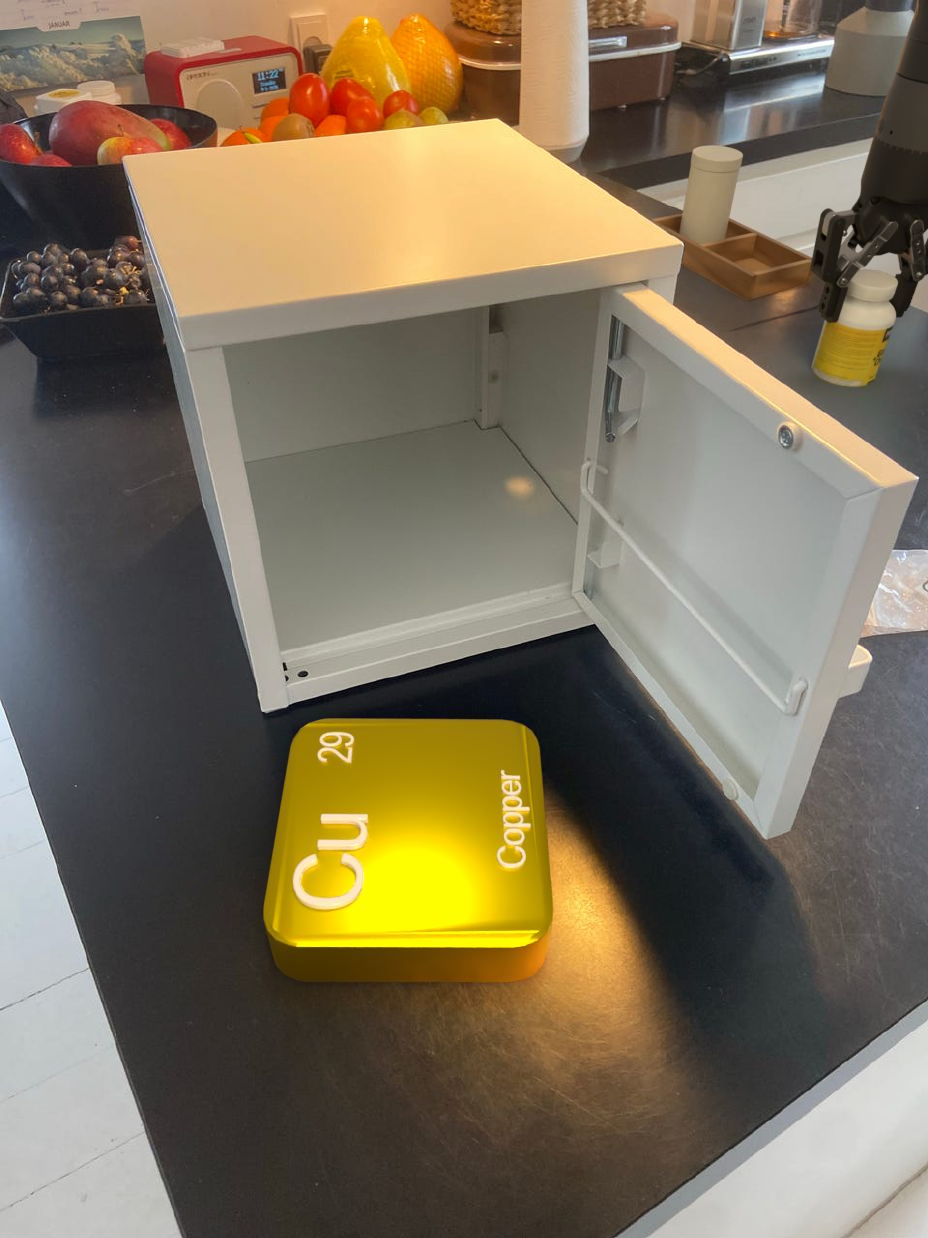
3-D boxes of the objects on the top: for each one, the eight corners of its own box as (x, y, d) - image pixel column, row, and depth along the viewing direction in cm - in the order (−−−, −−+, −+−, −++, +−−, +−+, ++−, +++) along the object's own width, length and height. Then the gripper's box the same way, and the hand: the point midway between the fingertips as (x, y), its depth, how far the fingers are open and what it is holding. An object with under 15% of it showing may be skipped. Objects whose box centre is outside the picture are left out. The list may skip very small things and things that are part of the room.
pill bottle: (860, 408, 93) (898, 298, 85) (797, 390, 96) (830, 281, 88) (877, 382, 97) (915, 274, 89) (817, 365, 100) (849, 259, 92)
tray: (703, 233, 128) (708, 207, 125) (809, 287, 115) (817, 259, 113) (642, 246, 124) (646, 219, 122) (745, 304, 111) (752, 275, 109)
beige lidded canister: (702, 237, 125) (720, 142, 117) (732, 253, 121) (753, 156, 113) (666, 245, 123) (682, 149, 115) (696, 261, 119) (715, 163, 111)
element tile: (550, 985, 48) (558, 941, 45) (266, 985, 48) (254, 940, 45) (533, 760, 59) (538, 712, 56) (301, 759, 59) (293, 710, 56)
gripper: (868, 151, 76) (812, 339, 87) (1020, 143, 78) (947, 328, 90) (824, 125, 81) (777, 306, 93) (968, 119, 84) (904, 296, 95)
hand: (861, 316), depth 91 cm, fingers closed on pill bottle, 6 cm apart
